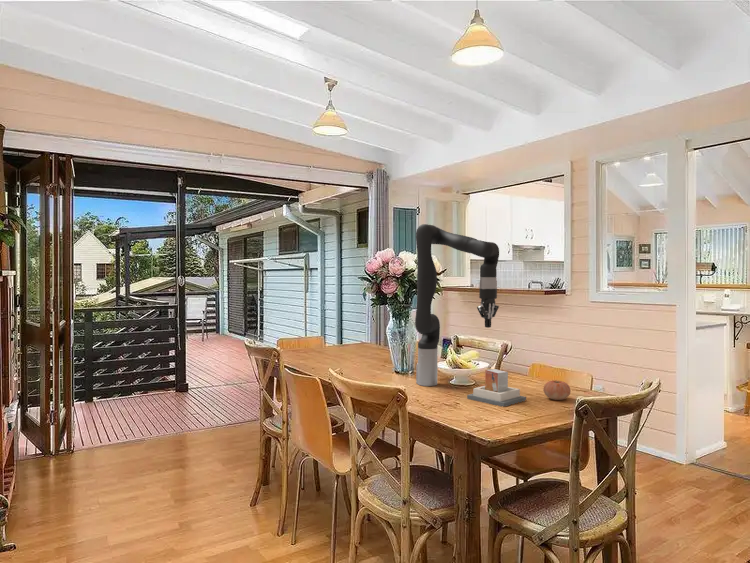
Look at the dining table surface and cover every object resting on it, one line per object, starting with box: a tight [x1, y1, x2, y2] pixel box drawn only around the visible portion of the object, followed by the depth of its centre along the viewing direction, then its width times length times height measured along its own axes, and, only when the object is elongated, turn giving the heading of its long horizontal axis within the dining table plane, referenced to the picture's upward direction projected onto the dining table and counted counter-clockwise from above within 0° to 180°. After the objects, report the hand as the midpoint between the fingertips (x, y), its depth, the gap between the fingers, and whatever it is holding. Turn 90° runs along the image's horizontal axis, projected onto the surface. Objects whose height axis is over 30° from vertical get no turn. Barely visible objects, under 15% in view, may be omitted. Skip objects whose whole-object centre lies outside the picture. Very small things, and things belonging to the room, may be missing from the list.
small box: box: [484, 368, 509, 393], centre depth 217 cm, size 8×6×10 cm
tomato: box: [542, 380, 571, 401], centre depth 219 cm, size 11×11×8 cm
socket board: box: [466, 385, 527, 408], centre depth 217 cm, size 18×16×4 cm
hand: (487, 327), depth 228 cm, fingers closed
